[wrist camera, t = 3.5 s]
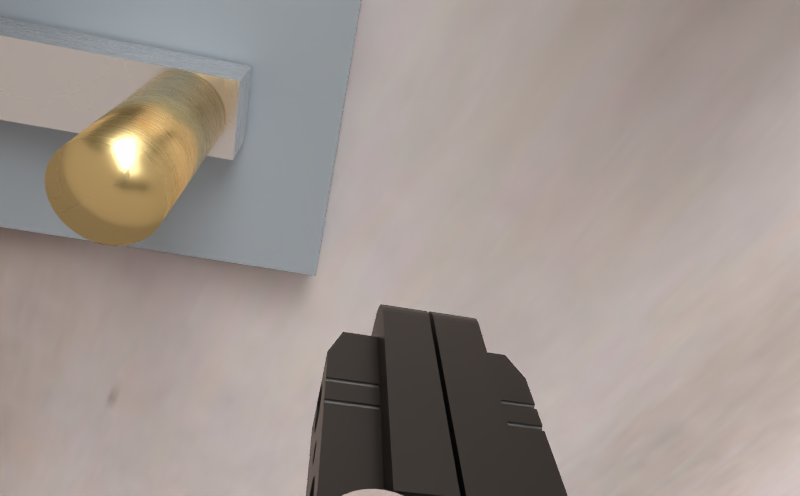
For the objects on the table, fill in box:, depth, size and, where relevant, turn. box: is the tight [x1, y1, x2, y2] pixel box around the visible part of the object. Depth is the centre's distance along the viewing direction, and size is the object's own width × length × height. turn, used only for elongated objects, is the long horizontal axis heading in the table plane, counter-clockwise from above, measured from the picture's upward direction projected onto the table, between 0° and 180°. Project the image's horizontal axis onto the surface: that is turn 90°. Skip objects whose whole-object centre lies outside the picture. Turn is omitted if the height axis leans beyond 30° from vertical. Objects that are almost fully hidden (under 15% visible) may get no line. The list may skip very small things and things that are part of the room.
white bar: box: [0, 17, 252, 246], centre depth 16 cm, size 10×2×8 cm, turn 79°
